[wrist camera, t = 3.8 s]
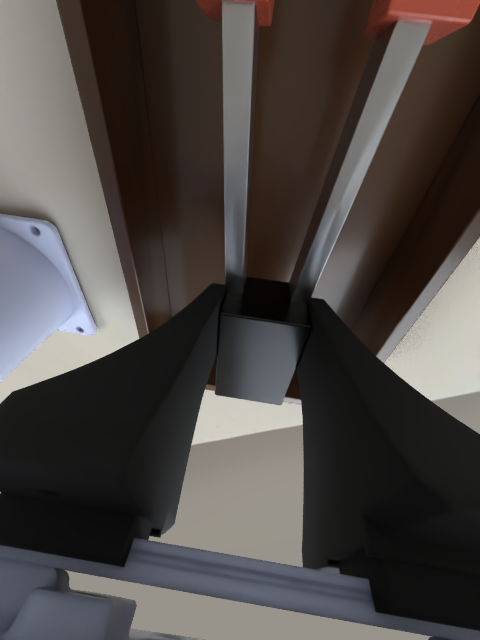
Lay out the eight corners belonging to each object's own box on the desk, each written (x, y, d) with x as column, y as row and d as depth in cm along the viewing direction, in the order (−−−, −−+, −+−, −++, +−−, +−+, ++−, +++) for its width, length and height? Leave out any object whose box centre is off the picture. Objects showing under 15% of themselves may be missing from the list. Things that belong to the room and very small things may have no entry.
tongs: (487, -97, 4) (681, -300, 2) (293, 378, 14) (297, 423, 12) (207, -125, 5) (148, -341, 2) (205, 364, 14) (192, 407, 12)
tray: (169, 341, 17) (149, 380, 15) (101, -163, 6) (-47, -405, 3) (335, 367, 17) (346, 412, 14) (608, -114, 6) (923, -341, 3)
